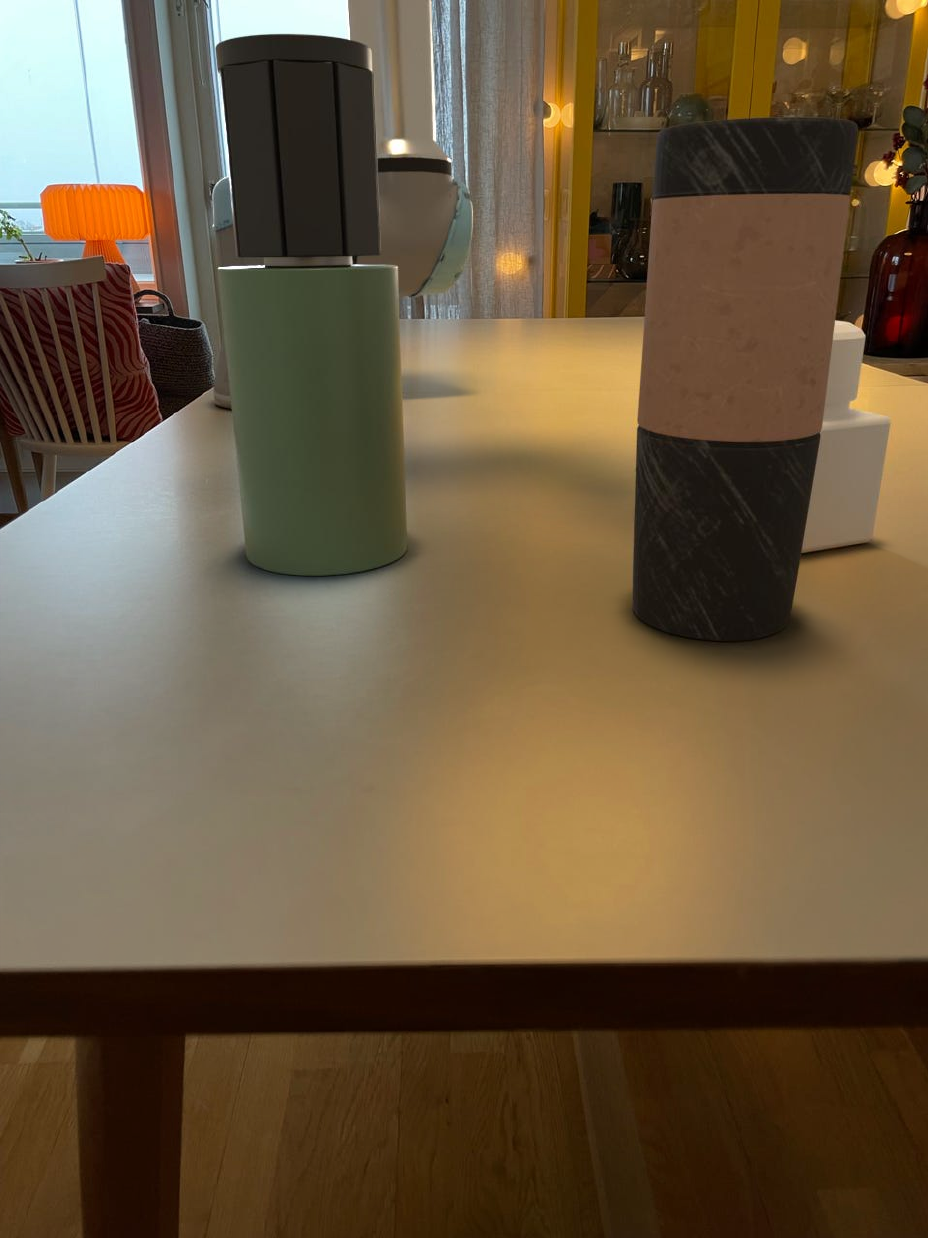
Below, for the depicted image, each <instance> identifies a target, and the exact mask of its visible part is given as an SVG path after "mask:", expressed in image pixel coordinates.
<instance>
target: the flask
mask: <svg viewBox="0 0 928 1238" xmlns="http://www.w3.org/2000/svg"><path fill="white" fill-rule="evenodd" d="M264 265H265V266H239V267H222V268H219V267H218V268H217V277H218V278H217V279H218V290H219V299H220V308H221V319H222V328H223V335H224V339H225V349H226V359H227V369H228V379H229V389H230V399H231V408H232V409H231V408H230V409H231V418H232V427H233V428H232V429H233V437H234V447H235V448H234V449H235V456H236V457H235V459H236V466H237V476H238V485H239V496H240V505H241V515H242V527H243V535H244V544H245V545H244V546H245V554H246V558H247V560H248V562H250V563H251V565H253V566H254V567H257V568H259V569H261V570H264V571H268V572H273V573H277V574H282V575H291V576H304V577H324V576H325V577H326V576H339V575H347V574H354V573H360V572H361V573H362V572H365V571H369V570H374V569H377V568H380V567H383V566H386V565H389V564H391V563H393V562H396V561H397V560H399V559H400V558H401V557H403V556H404V555H405V554H406V552H407V550H408V528H407V527H408V526H407V525H408V524H407V523H408V521H407V497H406V465H405V440H404V439H405V437H404V436H405V435H404V433H405V432H404V409H403V408H404V405H403V378H402V377H403V376H402V375H403V374H402V349H401V348H402V347H401V316H400V296H399V284H398V266H396V265H352V256H334V257H264Z"/></svg>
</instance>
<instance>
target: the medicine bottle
mask: <svg viewBox="0 0 928 1238" xmlns="http://www.w3.org/2000/svg"><path fill="white" fill-rule="evenodd" d="M865 343H866V334H865V333H864V331H863V329H862V328H861V327H859V326H856V325H855V324H853V323H851V322H849V321H845V320H844V321H843V320H838V319H835V326H834V334H833V342H832V350H831V358H830V366H829V374H828V383H827V391H826V399H825V407H824V415H823V423H822V429H821V431H820V435H821V437H820V443H819V449H818V455H817V461H816V467H815V473H814V479H813V485H812V491H811V497H810V503H809V509H808V516H807V522H806V528H805V534H804V540H803V546H802V552H801V554H806V553H812V552H817V551H823V550H829V549H836V548H841V547H848V546H853V545H859V544H865V543H869V542H871V541H872V539H873V536H874V530H875V522H876V517H877V510H878V503H879V498H880V492H881V486H882V480H883V473H884V466H885V460H886V456H887V455H886V453H887V448H888V442H889V435H890V430H891V429H890V428H891V425H892V424H891V418H890V417H889V416H887V415H885V414H879V413H875V412H870V411H865V410H861V409H856V408H850V403H851V402H853V401H855V400H856V399H857V398H858V393H859V385H860V377H861V371H862V364H863V359H864V351H865Z"/></svg>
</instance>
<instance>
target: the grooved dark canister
mask: <svg viewBox="0 0 928 1238" xmlns="http://www.w3.org/2000/svg"><path fill="white" fill-rule="evenodd" d="M214 50H215V60H216V70H217V73H218V74H219V88H220V98H221V109H222V119H223V129H224V131H223V132H224V142H225V152H226V153H225V154H226V161H227V171H228V176H229V184H230V195H231V206H232V216H233V227H234V238H235V248H236V256H237V257H334V256H376V255H381V242H380V217H379V191H378V166H377V141H376V116H375V91H374V73H373V72H372V51H371V49H370V47H368V46H367V45H365V44H362V43H360V42H356V41H353V40H349V38H343V37H336V36H329V35H322V34H321V35H319V34H308V33H306V34H305V33H266V34H265V33H263V34H252V35H242V36H237V37H233V38H232V37H231V38H228V39H225V40H223V41H220V42H218V43H217V44H216V45H215V47H214Z"/></svg>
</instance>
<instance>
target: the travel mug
mask: <svg viewBox="0 0 928 1238" xmlns="http://www.w3.org/2000/svg"><path fill="white" fill-rule="evenodd" d="M858 134H859V127H858V124H857V123H856V122H855V121H853V120H849V119H843V118H835V117H820V116H819V117H817V116H771V117H770V116H766V117H746V118H745V117H743V118H730V119H718V120H717V119H716V120H707V121H697V122H690V123H683V124H678V125H677V124H676V125H672V126H669V127H666V128H662V129H661V130H660V131H658V134H657V137H656V146H655V149H656V150H655V158H654V159H655V161H654V172H653V173H654V176H653V189H652V190H653V191H652V198H653V200H652V203H651V204H652V206H651V218H650V219H651V220H650V233H649V246H648V247H649V248H648V259H647V260H648V262H647V266H648V267H647V276H646V277H647V278H646V289H645V306H644V319H643V335H642V346H641V347H642V348H641V360H640V361H641V362H640V363H641V364H640V377H639V378H640V379H639V390H638V391H639V392H638V405H637V406H638V407H637V420H636V421H637V425H638V426H637V427H636V449H635V451H636V452H635V482H634V483H635V487H634V488H635V489H634V521H633V523H634V525H633V555H632V556H633V557H632V559H633V560H632V608H633V611H634V613H635V615H636V616H637V618H638V619H640V620H641V621H642V622H643V623H645V624H647V625H649V626H651V627H653V628H654V629H657V630H660V631H662V632H665V633H669V634H672V635H675V636H679V637H685V638H690V639H697V640H704V641H715V642H737V641H738V642H739V641H749V640H757V639H762V638H767V637H769V636H772V635H775V634H777V633H779V632H781V631H783V629H785V628H786V627H787V625H788V624H789V621H790V618H791V613H792V609H793V605H794V604H793V603H794V599H795V593H796V588H797V582H798V575H799V570H800V562H801V558H802V557H801V556H802V553H801V552H802V546H803V540H804V534H805V528H806V522H807V516H808V509H809V503H810V497H811V491H812V485H813V479H814V473H815V467H816V461H817V455H818V449H819V443H820V437H821V435H820V431H821V429H822V423H823V415H824V407H825V399H826V391H827V383H828V374H829V366H830V358H831V350H832V342H833V334H834V326H835V320H836V317H837V308H838V301H839V291H840V284H841V277H842V269H843V268H842V267H843V259H844V251H845V242H846V237H847V235H846V234H847V227H848V220H849V219H848V218H849V210H850V202H851V195H850V194H851V193H852V188H853V187H852V185H853V178H854V169H855V161H856V155H857V154H856V153H857V146H858V137H859V136H858Z"/></svg>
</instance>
